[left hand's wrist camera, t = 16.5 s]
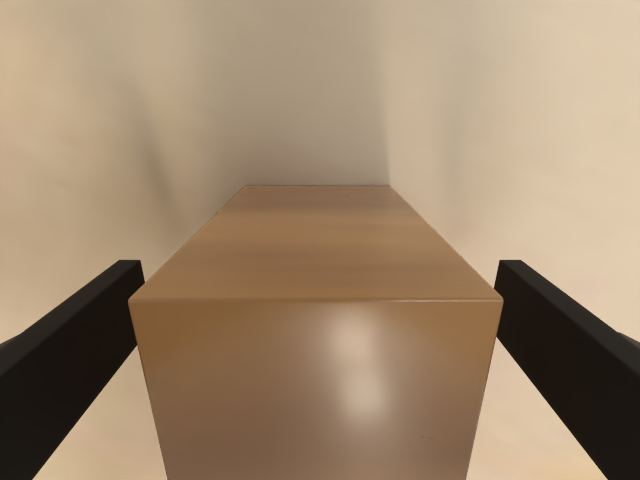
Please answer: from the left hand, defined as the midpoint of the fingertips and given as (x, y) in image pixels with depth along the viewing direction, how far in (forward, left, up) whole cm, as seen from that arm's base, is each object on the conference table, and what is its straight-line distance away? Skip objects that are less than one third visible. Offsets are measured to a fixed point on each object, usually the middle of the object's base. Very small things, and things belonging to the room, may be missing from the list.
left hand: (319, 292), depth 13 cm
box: (+4, +8, -5) cm, 10 cm away
